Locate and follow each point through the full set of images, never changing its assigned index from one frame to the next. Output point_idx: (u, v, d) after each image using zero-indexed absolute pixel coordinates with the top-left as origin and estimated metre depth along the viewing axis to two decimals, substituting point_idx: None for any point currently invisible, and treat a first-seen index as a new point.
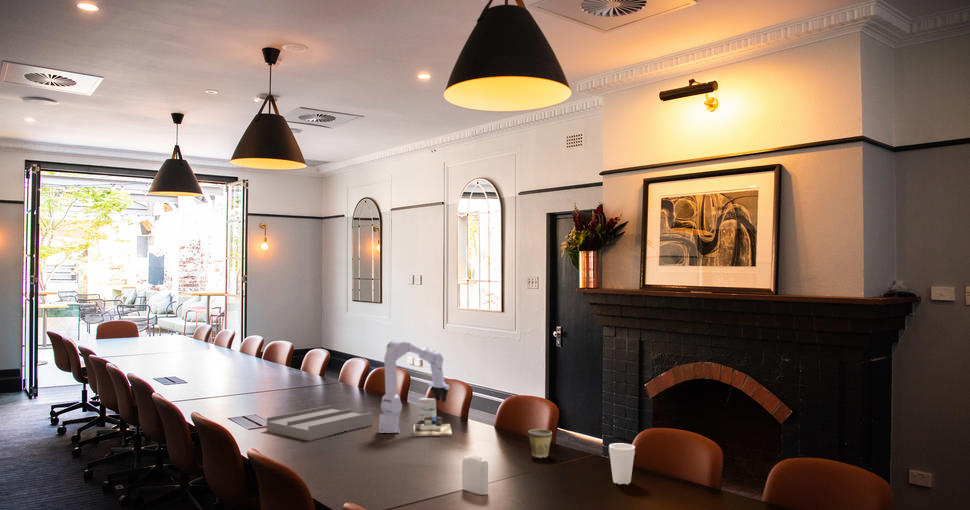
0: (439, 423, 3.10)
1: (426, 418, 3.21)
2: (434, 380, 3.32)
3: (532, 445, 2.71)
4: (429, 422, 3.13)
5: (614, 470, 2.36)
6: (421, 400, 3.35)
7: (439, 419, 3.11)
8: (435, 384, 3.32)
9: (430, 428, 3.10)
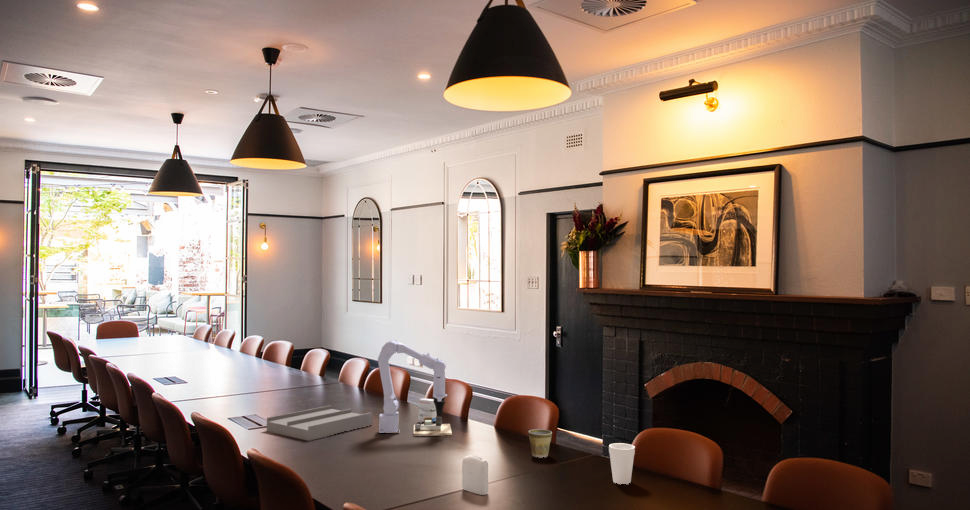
0: (439, 423, 3.10)
1: (426, 418, 3.21)
2: (433, 389, 3.12)
3: (532, 445, 2.71)
4: (429, 422, 3.13)
5: (614, 470, 2.36)
6: (422, 400, 3.35)
7: (439, 419, 3.11)
8: (433, 393, 3.11)
9: (430, 428, 3.10)
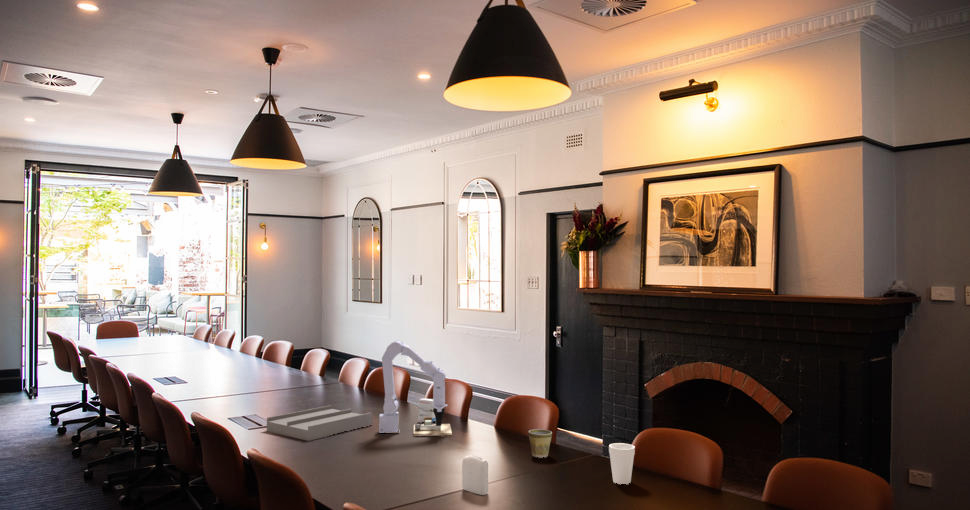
0: None
1: (426, 418, 3.21)
2: (433, 399, 3.12)
3: (532, 445, 2.71)
4: (429, 422, 3.13)
5: (614, 470, 2.36)
6: (422, 400, 3.35)
7: None
8: (433, 403, 3.11)
9: (430, 428, 3.10)
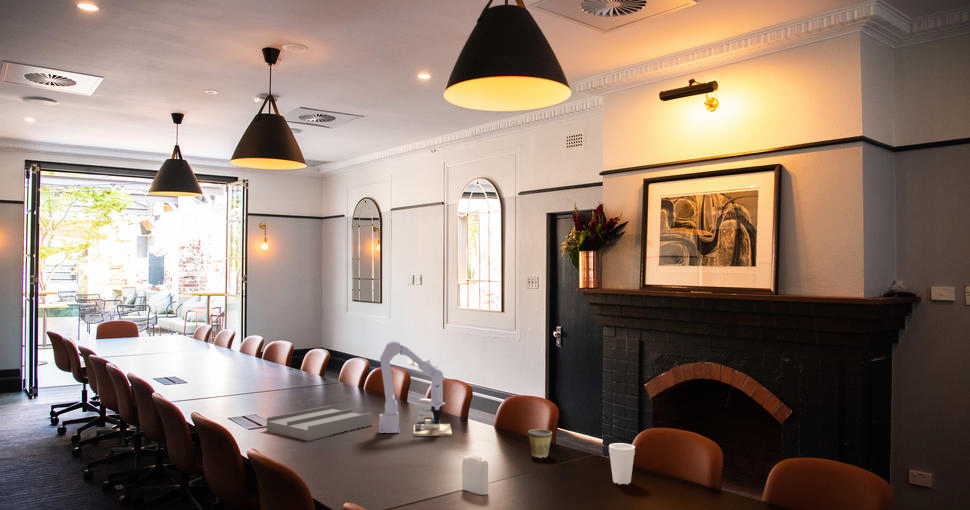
0: None
1: (426, 418, 3.21)
2: (431, 397, 3.16)
3: (532, 445, 2.71)
4: (429, 421, 3.15)
5: (614, 470, 2.36)
6: (422, 400, 3.35)
7: None
8: (431, 402, 3.15)
9: (430, 427, 3.12)
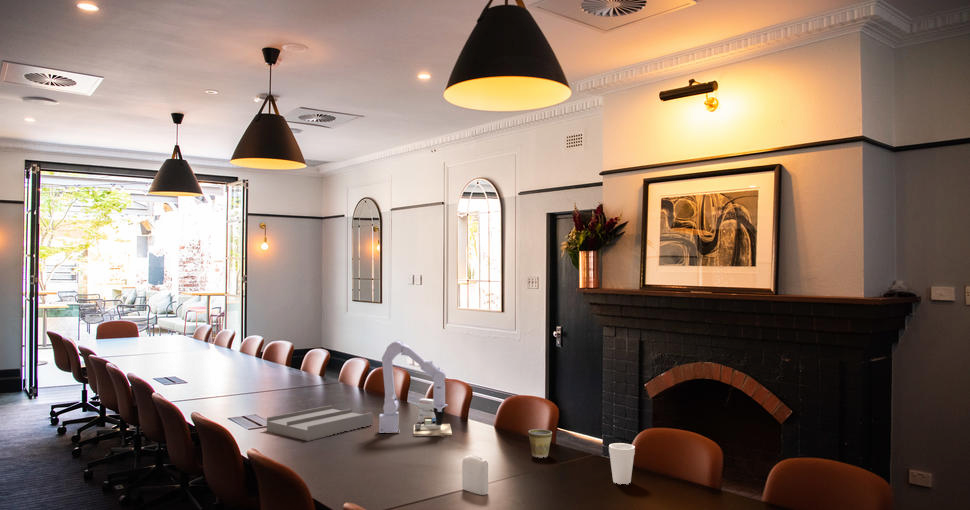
0: None
1: (426, 418, 3.21)
2: (433, 399, 3.12)
3: (532, 445, 2.71)
4: (429, 421, 3.15)
5: (614, 470, 2.36)
6: (422, 400, 3.35)
7: None
8: (433, 403, 3.11)
9: (430, 428, 3.11)
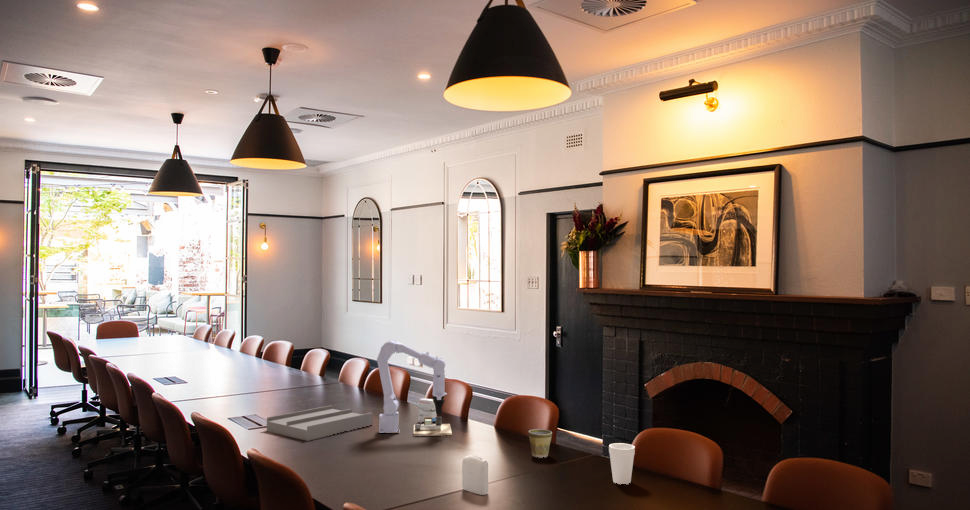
0: (439, 423, 3.11)
1: (426, 418, 3.21)
2: (433, 387, 3.12)
3: (532, 445, 2.71)
4: (429, 421, 3.15)
5: (614, 470, 2.36)
6: (422, 400, 3.35)
7: (439, 419, 3.11)
8: (433, 392, 3.12)
9: (430, 428, 3.10)
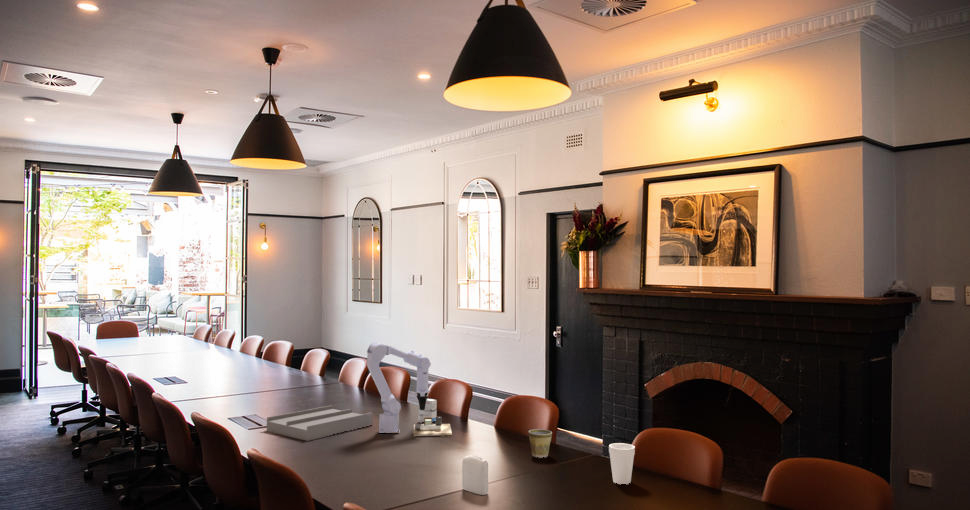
0: (439, 423, 3.11)
1: (426, 418, 3.21)
2: None
3: (532, 445, 2.71)
4: (429, 421, 3.15)
5: (614, 470, 2.36)
6: None
7: (439, 419, 3.11)
8: (417, 388, 3.21)
9: (430, 428, 3.10)
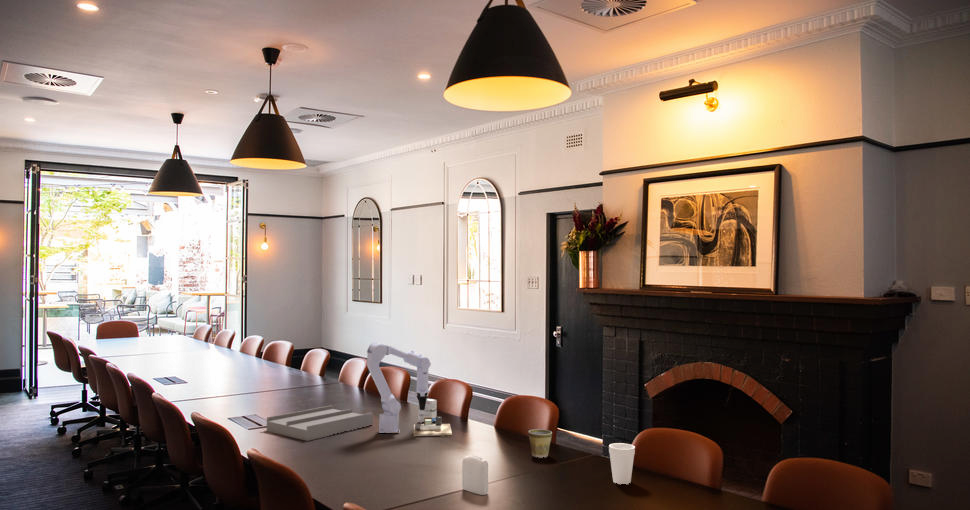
0: (439, 423, 3.11)
1: (426, 418, 3.21)
2: None
3: (532, 445, 2.71)
4: (429, 421, 3.15)
5: (614, 470, 2.36)
6: None
7: (439, 419, 3.11)
8: (417, 388, 3.21)
9: (430, 428, 3.10)
